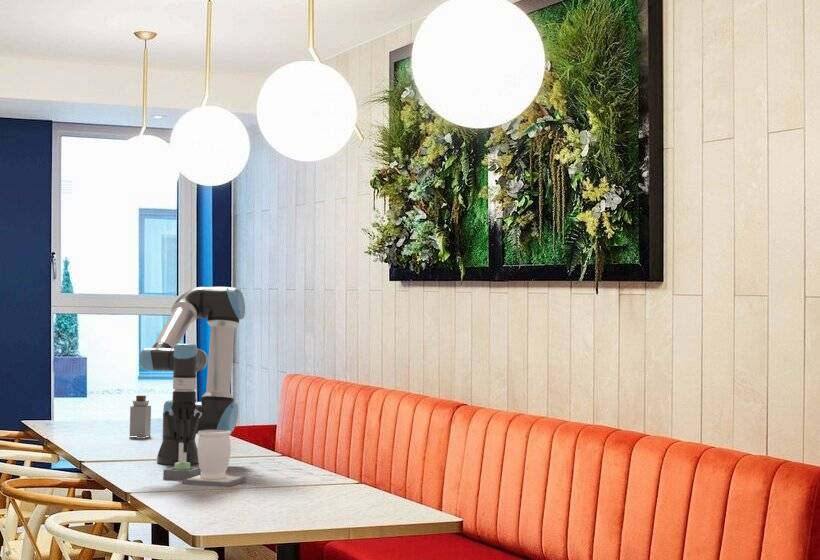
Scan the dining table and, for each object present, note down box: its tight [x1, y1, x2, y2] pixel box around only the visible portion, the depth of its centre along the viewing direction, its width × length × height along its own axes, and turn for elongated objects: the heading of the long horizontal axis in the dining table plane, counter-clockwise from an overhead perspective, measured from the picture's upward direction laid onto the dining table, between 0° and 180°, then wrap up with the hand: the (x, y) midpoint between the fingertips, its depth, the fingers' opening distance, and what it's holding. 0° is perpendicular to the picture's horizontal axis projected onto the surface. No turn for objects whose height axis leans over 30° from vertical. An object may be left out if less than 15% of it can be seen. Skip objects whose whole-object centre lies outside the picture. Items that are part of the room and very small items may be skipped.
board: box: [181, 475, 247, 488], centre depth 359 cm, size 16×13×2 cm
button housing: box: [162, 466, 202, 481], centre depth 367 cm, size 9×9×3 cm
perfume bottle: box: [129, 394, 152, 437], centre depth 484 cm, size 7×7×18 cm
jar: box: [197, 430, 232, 479], centre depth 359 cm, size 11×10×15 cm
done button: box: [174, 462, 191, 471], centre depth 367 cm, size 5×5×3 cm
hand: (182, 462), depth 367 cm, fingers closed
